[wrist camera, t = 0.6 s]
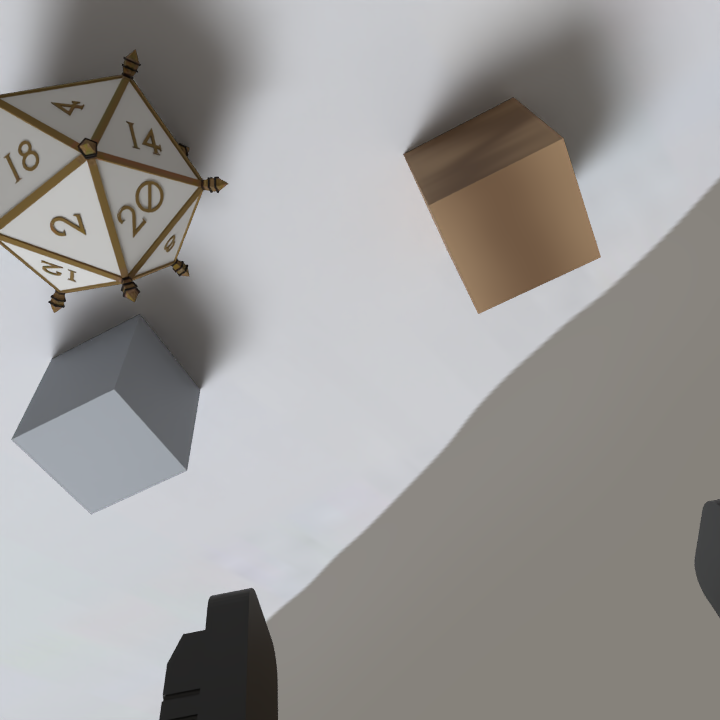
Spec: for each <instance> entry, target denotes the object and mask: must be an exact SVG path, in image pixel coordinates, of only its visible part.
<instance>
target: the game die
mask: <svg viewBox="0 0 720 720" xmlns="http://www.w3.org/2000/svg"><path fill="white" fill-rule="evenodd" d="M124 59H125V61H124V64H122V66H123V73H122V74H121V75H115V76H109V77H103V78H97V79H91V80H85V81H79V82H73V83H67V84H61V85H55V86H49V87H43V88H37V89H31V90H25V91H19V92H13V93H7V94H1V95H0V245H2V246H3V247H4V248H5V249H7V250H8V251H9V252H10V253H11V254H13V255H14V256H15V257H16V258H18V259H19V260H20V261H21V262H22V263H24V264H25V265H26V266H27V267H28V268H30V269H31V270H32V271H33V272H35V273H36V274H37V275H38V276H39V277H41V278H42V279H43V280H44V281H46V282H47V283H48V284H49V285H50V286H52V287H53V288H54V289H55V293H54V295H52V296H51V298H52V299H51V301H49V302H48V303H50V304H51V307H52V309H53V312H54V313H55V312H57V311H58V310H59V309H61V308H62V307H63V308H64V307H65V306H64V302H66V299H65V293H70V292H76V291H82V290H88V289H94V288H100V287H106V286H112V285H118V284H122V288H121V291H123V297H127V298H128V299H130V300H132V301H133V302H135V301H136V298H137V295H138V294H139V293H140V291H139V290H138V289H137V287H138V286H137V285H136V284H135V283H134V282H133V280H136V279H138V278H141V277H143V276H146V275H148V274H151V273H153V272H156V271H158V270H161V269H163V268H166V267H168V266H173V270H174V271H175V272H177V274H178V275H179V276H189V272H188V265H185V264H184V262H183V261H179V260H177V256H178V254H179V251H180V249H181V246H182V243H183V241H184V238H185V236H186V233H187V231H188V228H189V225H190V223H191V220H192V218H193V215H194V213H195V210H196V207H197V205H198V202H199V200H200V197H201V195H202V192H203V190H208V191H210V192H211V193H212V192H213V191H217V193H219V191H220V190H221V189H222V188H223V187H225V186H226V185H227V184H228V183H227V182H225V181H223V180H221V179H219V177H214V178H212V177H210V178H208V179H206V180H203V179H202V178H201V176H200V175H199V173H198V172H197V171H196V169H195V168H194V166H193V165H192V163H191V162H190V161H189V159H188V158H187V156H188V151H189V147H186V146H184V145H182V144H180V143H179V145H178V143H177V142H176V141H175V139H174V138H173V136H172V135H171V133H170V132H169V131H168V129H167V128H166V126H165V125H164V123H163V122H162V121H161V119H160V118H159V116H158V115H157V113H156V112H155V111H154V109H153V108H152V106H151V105H150V103H149V102H148V101H147V99H146V98H145V96H144V95H143V93H142V92H141V90H140V89H139V88H138V86H137V85H136V83H135V82H134V80H133V76H134V74H135V73H136V72H137V73H138V71H137V69H138V66H140V65H141V64H139V61H138V57H137V53H136V49H135V50H134V51H133V52H132V53H130V54H129V55H128V56H127V57H124Z"/></svg>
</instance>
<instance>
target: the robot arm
mask: <svg viewBox="0 0 720 720" xmlns="http://www.w3.org/2000/svg"><path fill="white" fill-rule="evenodd" d="M695 570H696V575H697V579H698V582H699V584H700V587H701V589H702V591H703V593H704V594H705V596H706V598H707V599H708V601H709V602H710V604H711V605H712V607H713V608H714V610H715V611H716V613H717V614H718V616H719V617H720V499H718V500H714V501H708V502H706V503H705V505H704V507H703V511H702V517H701V523H700V530H699V536H698V542H697V548H696V555H695ZM277 681H278V680H277V665H276V658H275V651H274V646H273V642H272V639H271V636H270V633H269V630H268V627H267V624H266V621H265V618H264V616H263V613H262V610H261V607H260V604H259V601H258V598H257V595H256V593H255V590H254V589H253V588H249V589H244V590H239V591H234V592H229V593H223V594H218V595H213V596H211V597H210V598H209V601H208V607H207V618H206V629H205V630H203V631H198V632H193V633H188V634H183V636H182V638H181V639H180V641H179V643H178V645H177V647H176V649H175V651H174V652H173V654H172V656H171V658H170V660H169V662H168V664H167V669H166V676H165V683H164V690H163V702H162V705H161V712H160V719H159V720H278V683H277Z"/></svg>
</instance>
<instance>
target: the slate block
mask: <svg viewBox="0 0 720 720" xmlns="http://www.w3.org/2000/svg"><path fill="white" fill-rule="evenodd" d="M199 394H200V389H199V387H198V386H197V385H196V384H195V383H194V381H193V380H192V379H191V378H190V376H189V375H188V374H187V373H186V371H185V370H184V369H183V368H182V366H181V365H180V364H179V363H178V361H177V360H176V359H175V358H174V356H173V355H172V354H171V353H170V351H169V350H168V349H167V348H166V346H165V345H164V344H163V343H162V341H161V340H160V339H159V338H158V336H157V335H156V334H155V333H154V331H153V330H152V329H151V328H150V326H149V325H148V324H147V323H146V321H145V320H144V319H143V318H142V316H141V315H140V314H139V315H137V316H135V317H133V318H131V319H129V320H127V321H126V322H124V323H122V324H120V325H118V326H116V327H114V328H112V329H110V330H108V331H106V332H104V333H102V334H100V335H98V336H96V337H94V338H92V339H90V340H88V341H86V342H84V343H82V344H80V345H78V346H77V347H75V348H73V349H71V350H69V351H67V352H65V353H63V354H61V355H59V356H57V357H55V358H53V359H52V360H51V362H50V364H49V366H48V368H47V370H46V372H45V374H44V376H43V378H42V380H41V382H40V384H39V386H38V388H37V390H36V392H35V394H34V396H33V398H32V400H31V402H30V404H29V406H28V408H27V410H26V412H25V414H24V416H23V418H22V420H21V422H20V424H19V426H18V428H17V430H16V432H15V433H14V435H13V437H12V439H11V440H12V441H13V442H14V443H15V444H17V445H18V446H19V447H20V448H21V449H22V450H23V451H24V452H25V453H26V454H27V455H28V456H29V457H30V458H32V459H33V460H34V461H35V462H36V463H37V464H38V465H39V466H40V467H41V468H42V469H43V470H44V471H45V472H46V473H48V474H49V475H50V476H51V477H52V478H53V479H54V480H55V481H56V482H57V483H58V484H59V485H60V486H61V487H63V488H64V489H65V490H66V491H67V492H68V493H69V494H70V495H71V496H72V497H73V498H74V499H75V500H76V501H77V502H79V503H80V504H81V505H82V506H83V507H84V508H85V509H86V510H87V511H88V512H89V513H90V514H93V513H95V512H98V511H100V510H102V509H104V508H106V507H108V506H111V505H113V504H115V503H117V502H119V501H122V500H124V499H126V498H128V497H130V496H133V495H135V494H137V493H139V492H141V491H144V490H146V489H148V488H150V487H152V486H154V485H157V484H159V483H161V482H163V481H165V480H168V479H170V478H172V477H174V476H176V475H179V474H181V473H183V472H185V471H187V468H188V462H189V456H190V449H191V443H192V437H193V431H194V425H195V419H196V413H197V407H198V401H199Z"/></svg>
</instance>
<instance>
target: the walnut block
mask: <svg viewBox="0 0 720 720" xmlns="http://www.w3.org/2000/svg"><path fill="white" fill-rule="evenodd" d="M403 155H404V157H405V159H406V161H407V164H408V166H409V168H410V170H411V172H412V174H413V177H414V179H415V181H416V183H417V185H418V187H419V190H420V192H421V194H422V196H423V198H424V201H425V203H426V205H427V207H428V209H429V211H430V214H431V216H432V218H433V220H434V222H435V224H436V227H437V229H438V231H439V233H440V235H441V238H442V240H443V242H444V244H445V246H446V248H447V251H448V253H449V255H450V257H451V259H452V261H453V263H454V265H455V267H456V269H457V271H458V273H459V275H460V277H461V279H462V281H463V283H464V285H465V288H466V290H467V292H468V294H469V296H470V298H471V300H472V302H473V304H474V306H475V308H476V310H477V312H478V314H479V313H481V312H484V311H486V310H488V309H490V308H492V307H494V306H497V305H499V304H501V303H503V302H505V301H507V300H510V299H512V298H514V297H516V296H518V295H520V294H522V293H525V292H527V291H529V290H531V289H533V288H535V287H538V286H540V285H542V284H544V283H546V282H548V281H550V280H553V279H555V278H557V277H559V276H561V275H563V274H566V273H568V272H570V271H572V270H574V269H576V268H579V267H581V266H583V265H585V264H587V263H589V262H591V261H594V260H596V259H598V258H600V257H601V256H600V253H599V250H598V247H597V243H596V240H595V237H594V234H593V231H592V227H591V224H590V221H589V218H588V215H587V212H586V208H585V205H584V202H583V199H582V196H581V193H580V189H579V186H578V183H577V180H576V177H575V173H574V170H573V167H572V164H571V161H570V158H569V154H568V151H567V148H566V145H565V142H564V138H563V137H561V136H560V135H559V134H558V133H556V132H555V131H554V130H553V129H552V128H550V127H549V126H548V125H547V124H545V123H544V122H543V121H542V120H541V119H539V118H538V117H537V116H536V115H535V114H533V113H532V112H531V111H530V110H528V109H527V108H526V107H525V106H524V105H522V104H521V103H520V102H519V101H517V100H516V99H515V98H514V97H513V98H511V99H509V100H507V101H505V102H503V103H502V104H500V105H498V106H496V107H494V108H492V109H490V110H488V111H486V112H484V113H482V114H480V115H478V116H476V117H475V118H473V119H471V120H469V121H467V122H465V123H463V124H461V125H459V126H457V127H455V128H453V129H451V130H449V131H447V132H446V133H444V134H442V135H440V136H438V137H436V138H434V139H432V140H430V141H428V142H426V143H424V144H422V145H420V146H418V147H417V148H415V149H413V150H411V151H409V152H407V153H405V154H403Z"/></svg>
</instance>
